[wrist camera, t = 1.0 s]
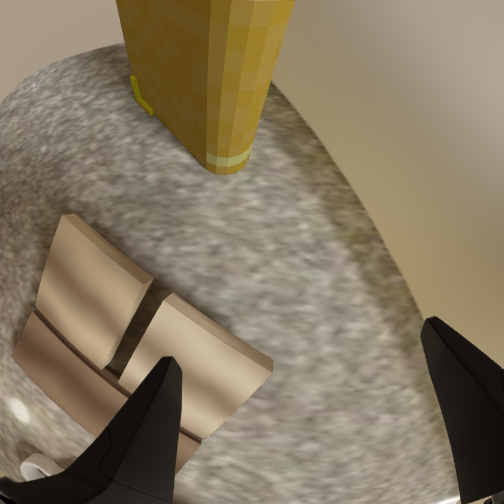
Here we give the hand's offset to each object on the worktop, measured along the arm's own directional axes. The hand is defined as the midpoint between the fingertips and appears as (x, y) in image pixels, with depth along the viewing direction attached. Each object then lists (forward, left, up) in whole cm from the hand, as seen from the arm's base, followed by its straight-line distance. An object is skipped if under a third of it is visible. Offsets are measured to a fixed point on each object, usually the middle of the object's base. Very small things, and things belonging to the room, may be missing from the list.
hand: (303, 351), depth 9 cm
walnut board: (-16, +8, -19) cm, 26 cm away
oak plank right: (-6, +2, -17) cm, 18 cm away
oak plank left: (-6, +14, -17) cm, 22 cm away
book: (+15, +18, -19) cm, 30 cm away
